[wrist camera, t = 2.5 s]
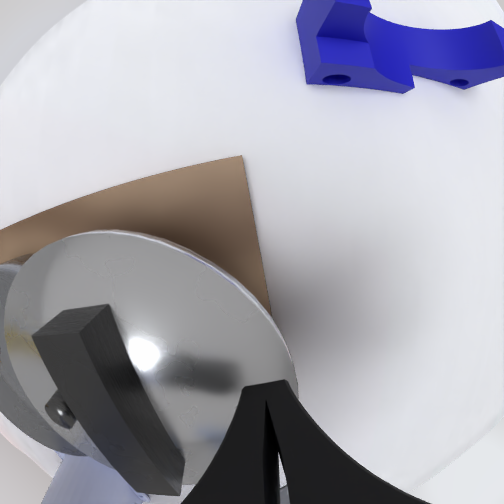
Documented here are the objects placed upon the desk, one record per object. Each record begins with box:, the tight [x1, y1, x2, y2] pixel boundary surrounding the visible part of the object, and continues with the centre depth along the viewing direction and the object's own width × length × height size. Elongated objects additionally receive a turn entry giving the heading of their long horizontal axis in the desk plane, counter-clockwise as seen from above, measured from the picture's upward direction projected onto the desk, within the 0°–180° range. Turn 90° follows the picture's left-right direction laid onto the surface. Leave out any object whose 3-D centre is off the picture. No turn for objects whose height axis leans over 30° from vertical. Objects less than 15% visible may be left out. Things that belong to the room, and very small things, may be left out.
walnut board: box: [0, 155, 272, 317], centre depth 15 cm, size 16×24×1 cm, turn 101°
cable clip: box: [296, 0, 504, 94], centre depth 9 cm, size 12×4×6 cm, turn 95°
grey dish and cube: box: [0, 253, 87, 456], centre depth 12 cm, size 12×18×4 cm, turn 101°
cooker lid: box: [4, 229, 298, 496], centre depth 8 cm, size 13×13×3 cm
